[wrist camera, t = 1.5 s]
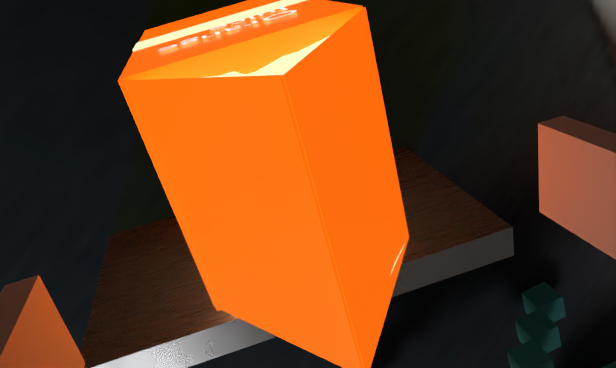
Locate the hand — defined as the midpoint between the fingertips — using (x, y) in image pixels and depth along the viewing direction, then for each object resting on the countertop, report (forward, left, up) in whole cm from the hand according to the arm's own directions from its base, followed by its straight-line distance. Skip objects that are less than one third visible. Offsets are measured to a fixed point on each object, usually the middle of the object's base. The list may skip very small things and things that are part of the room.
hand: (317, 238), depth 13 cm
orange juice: (0, 0, -19) cm, 19 cm away
